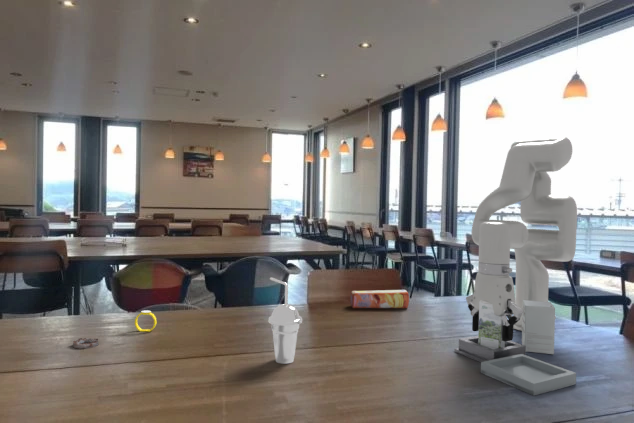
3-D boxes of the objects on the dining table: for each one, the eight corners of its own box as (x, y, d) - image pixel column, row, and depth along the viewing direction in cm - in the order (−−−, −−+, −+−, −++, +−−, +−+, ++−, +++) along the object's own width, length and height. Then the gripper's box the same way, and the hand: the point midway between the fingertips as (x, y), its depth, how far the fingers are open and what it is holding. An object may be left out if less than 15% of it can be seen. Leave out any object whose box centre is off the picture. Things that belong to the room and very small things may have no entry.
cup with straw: (275, 368, 108) (276, 283, 107) (261, 356, 116) (262, 277, 115) (307, 363, 112) (309, 281, 111) (292, 352, 120) (293, 275, 119)
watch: (156, 330, 138) (158, 311, 138) (153, 333, 135) (155, 313, 135) (136, 329, 138) (138, 309, 137) (133, 331, 135) (134, 311, 135)
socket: (489, 345, 129) (489, 332, 128) (529, 359, 117) (530, 346, 117) (454, 351, 122) (454, 338, 122) (493, 367, 111) (494, 353, 111)
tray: (521, 363, 114) (521, 353, 114) (575, 384, 102) (576, 373, 102) (480, 372, 108) (481, 362, 107) (533, 395, 95) (534, 383, 95)
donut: (101, 351, 120) (101, 343, 120) (67, 354, 117) (67, 346, 117) (101, 341, 128) (101, 334, 128) (69, 344, 124) (69, 337, 124)
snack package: (352, 309, 168) (352, 291, 168) (349, 305, 175) (350, 288, 175) (409, 310, 170) (410, 291, 170) (404, 305, 177) (405, 288, 176)
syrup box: (505, 354, 121) (506, 299, 120) (500, 361, 116) (502, 303, 115) (482, 350, 124) (484, 296, 123) (477, 356, 119) (478, 300, 118)
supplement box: (550, 346, 128) (551, 301, 128) (554, 355, 121) (555, 307, 121) (521, 343, 131) (522, 299, 130) (523, 351, 124) (525, 304, 123)
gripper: (532, 273, 113) (530, 343, 114) (478, 264, 129) (476, 325, 129) (511, 275, 110) (509, 347, 110) (458, 265, 125) (456, 328, 126)
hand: (491, 335), depth 120 cm, fingers open, 9 cm apart
